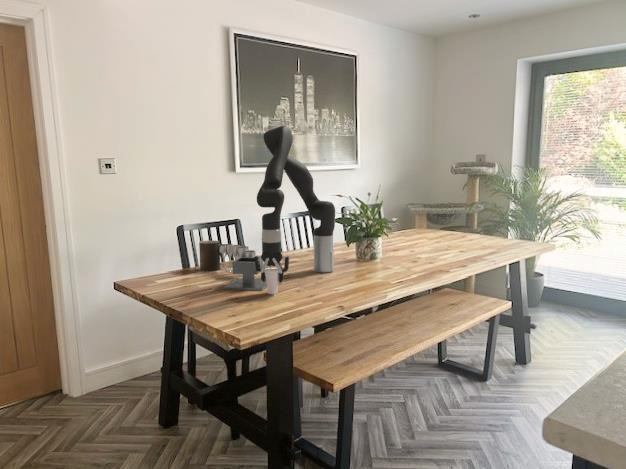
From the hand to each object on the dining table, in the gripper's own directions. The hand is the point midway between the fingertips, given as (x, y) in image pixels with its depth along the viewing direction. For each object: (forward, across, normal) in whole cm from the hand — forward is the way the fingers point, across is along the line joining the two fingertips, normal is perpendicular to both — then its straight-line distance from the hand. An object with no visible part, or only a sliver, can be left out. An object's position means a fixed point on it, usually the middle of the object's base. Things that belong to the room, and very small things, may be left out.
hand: (272, 281), depth 194 cm
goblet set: (+5, +25, -32) cm, 41 cm away
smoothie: (+5, 0, 0) cm, 5 cm away
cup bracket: (+5, +13, -11) cm, 18 cm away
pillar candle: (+5, +40, -38) cm, 56 cm away
